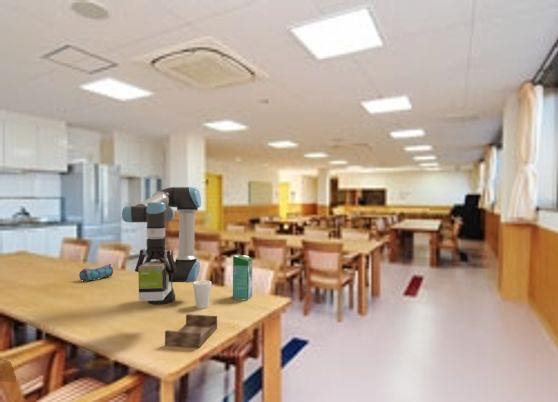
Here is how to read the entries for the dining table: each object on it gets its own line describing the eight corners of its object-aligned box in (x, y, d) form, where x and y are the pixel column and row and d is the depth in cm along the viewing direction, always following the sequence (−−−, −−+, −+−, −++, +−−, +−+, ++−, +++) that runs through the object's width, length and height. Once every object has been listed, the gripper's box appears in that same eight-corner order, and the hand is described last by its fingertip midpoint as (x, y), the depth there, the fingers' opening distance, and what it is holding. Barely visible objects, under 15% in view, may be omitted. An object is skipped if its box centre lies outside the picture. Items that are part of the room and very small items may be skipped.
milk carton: (247, 300, 189) (248, 256, 189) (232, 299, 191) (232, 256, 191) (252, 296, 198) (252, 254, 198) (237, 295, 200) (238, 253, 200)
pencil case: (86, 283, 229) (86, 269, 229) (78, 281, 233) (78, 268, 233) (113, 277, 248) (113, 264, 248) (106, 276, 252) (106, 263, 252)
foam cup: (214, 305, 180) (214, 281, 180) (205, 310, 171) (205, 285, 172) (199, 303, 183) (199, 279, 183) (189, 308, 174) (189, 283, 175)
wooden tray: (165, 345, 129) (165, 331, 129) (187, 326, 149) (187, 314, 149) (199, 348, 126) (199, 333, 127) (217, 328, 147) (217, 315, 147)
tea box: (149, 291, 150) (149, 258, 150) (171, 290, 151) (171, 258, 151) (137, 301, 135) (137, 265, 135) (163, 300, 136) (163, 264, 136)
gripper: (125, 238, 141) (125, 289, 141) (177, 239, 138) (177, 292, 138) (136, 236, 148) (135, 285, 149) (185, 237, 145) (185, 287, 145)
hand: (155, 288), depth 143 cm, fingers closed on tea box, 11 cm apart
